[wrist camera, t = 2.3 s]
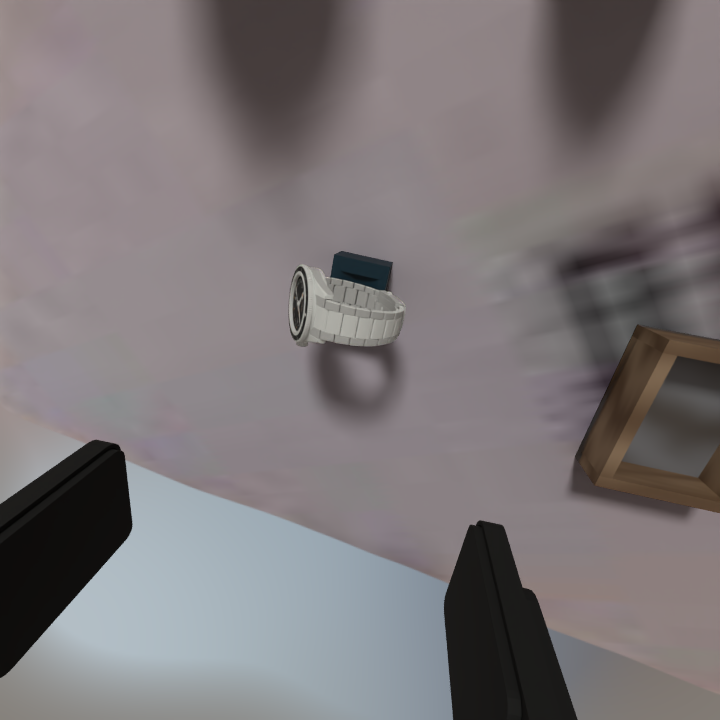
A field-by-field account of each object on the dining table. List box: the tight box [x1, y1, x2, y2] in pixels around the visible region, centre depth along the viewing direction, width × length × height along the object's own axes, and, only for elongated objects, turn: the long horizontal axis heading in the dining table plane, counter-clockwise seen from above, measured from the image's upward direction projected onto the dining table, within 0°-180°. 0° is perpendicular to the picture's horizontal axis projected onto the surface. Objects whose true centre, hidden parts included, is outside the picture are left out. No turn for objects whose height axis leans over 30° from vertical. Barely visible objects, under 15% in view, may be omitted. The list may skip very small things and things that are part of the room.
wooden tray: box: [575, 325, 720, 513], centre depth 30 cm, size 13×11×4 cm
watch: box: [289, 251, 406, 347], centre depth 26 cm, size 6×8×11 cm
